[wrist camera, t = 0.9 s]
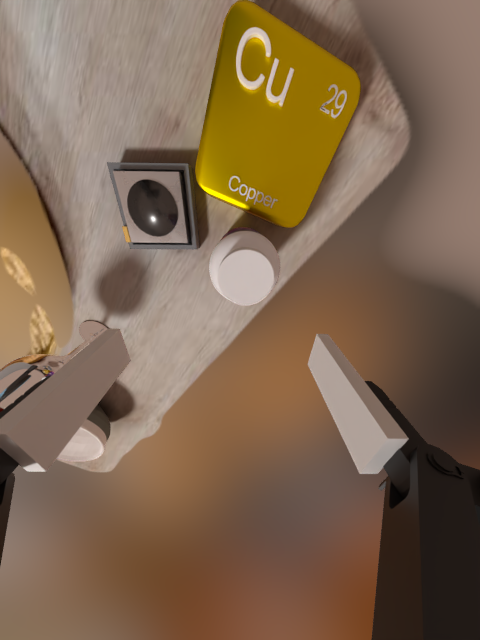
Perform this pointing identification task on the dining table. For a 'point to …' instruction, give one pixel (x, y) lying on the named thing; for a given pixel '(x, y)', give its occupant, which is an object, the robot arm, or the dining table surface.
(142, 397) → the dining table surface
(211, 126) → the element tile
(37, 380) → the wineglass
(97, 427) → the bowl
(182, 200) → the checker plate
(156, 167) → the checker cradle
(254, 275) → the pill bottle
